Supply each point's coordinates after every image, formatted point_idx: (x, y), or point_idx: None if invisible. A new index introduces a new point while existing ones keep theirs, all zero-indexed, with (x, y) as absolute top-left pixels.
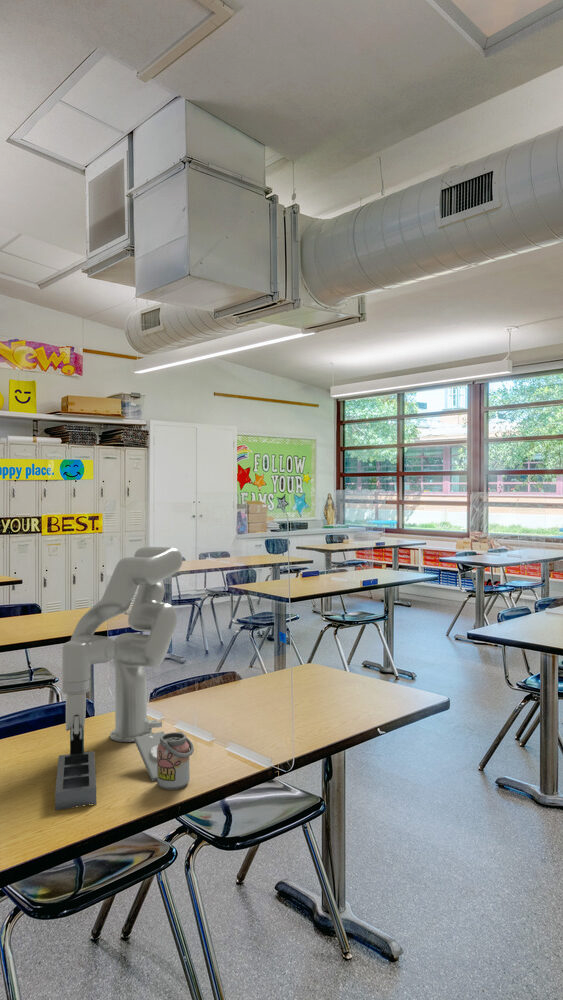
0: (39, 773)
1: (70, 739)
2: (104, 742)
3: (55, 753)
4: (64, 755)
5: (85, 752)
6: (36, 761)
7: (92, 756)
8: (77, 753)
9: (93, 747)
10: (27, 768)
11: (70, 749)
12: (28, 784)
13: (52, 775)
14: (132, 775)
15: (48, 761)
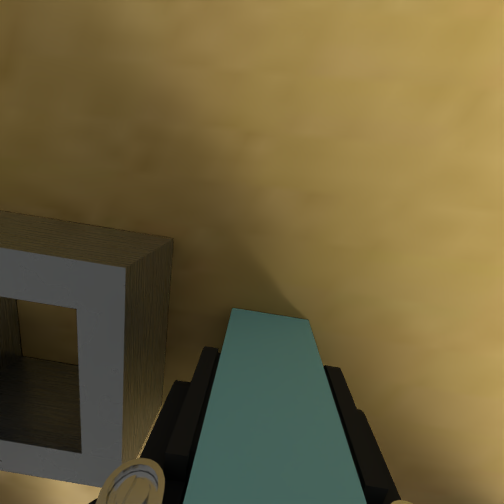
0: (176, 117)
1: (193, 468)
2: (465, 500)
3: (484, 257)
4: (108, 310)
5: (118, 445)
6: (416, 116)
7: (24, 464)
8: (116, 399)
9: (429, 448)
10: (311, 35)
11: (193, 375)
12: (10, 24)
13: (112, 194)
14: (3, 495)
15: (363, 197)
